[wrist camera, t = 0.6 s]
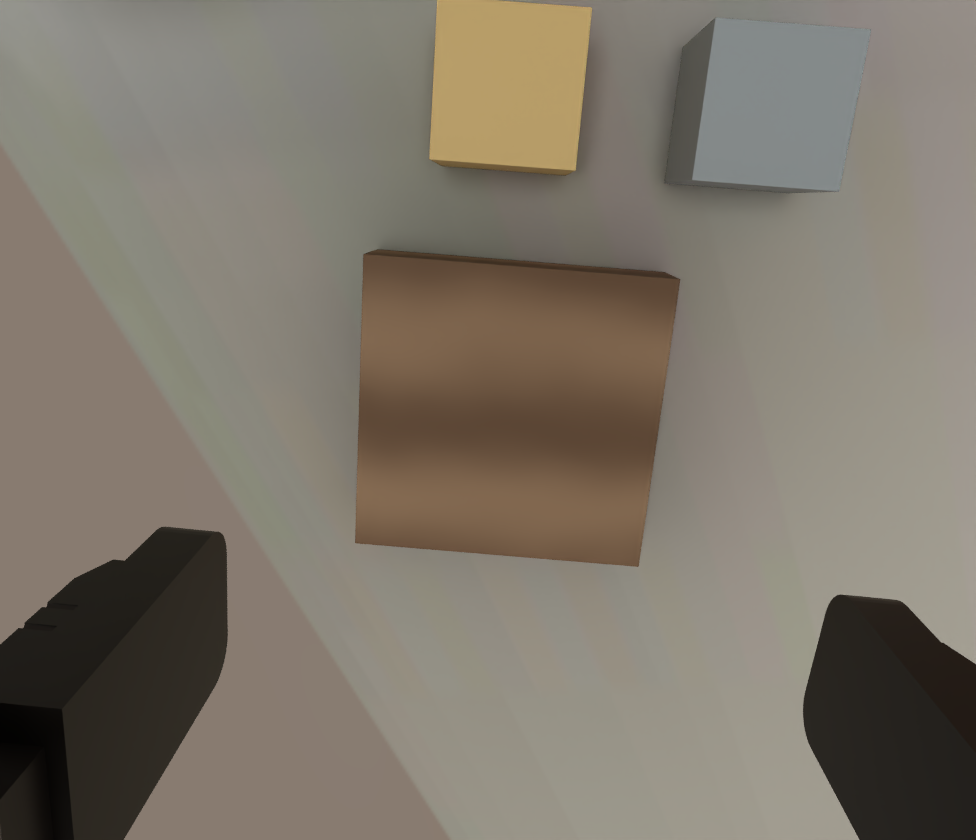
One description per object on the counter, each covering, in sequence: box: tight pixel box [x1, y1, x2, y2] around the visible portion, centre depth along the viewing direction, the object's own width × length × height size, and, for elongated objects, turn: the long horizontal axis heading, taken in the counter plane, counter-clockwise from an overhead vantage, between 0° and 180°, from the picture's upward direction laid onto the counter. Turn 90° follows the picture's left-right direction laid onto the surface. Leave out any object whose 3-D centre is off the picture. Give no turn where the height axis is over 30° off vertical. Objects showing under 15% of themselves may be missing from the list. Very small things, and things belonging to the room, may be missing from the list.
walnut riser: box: [355, 249, 680, 567], centre depth 32 cm, size 12×12×3 cm
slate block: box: [664, 18, 871, 193], centre depth 27 cm, size 5×5×5 cm
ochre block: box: [429, 0, 592, 175], centre depth 27 cm, size 5×5×5 cm
